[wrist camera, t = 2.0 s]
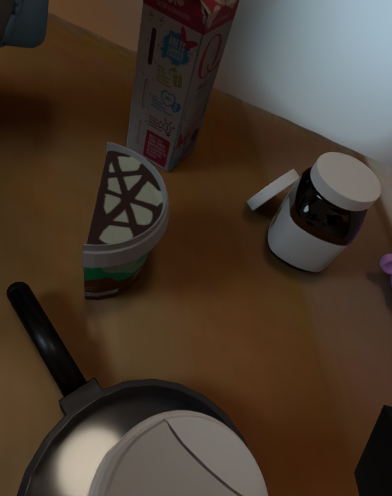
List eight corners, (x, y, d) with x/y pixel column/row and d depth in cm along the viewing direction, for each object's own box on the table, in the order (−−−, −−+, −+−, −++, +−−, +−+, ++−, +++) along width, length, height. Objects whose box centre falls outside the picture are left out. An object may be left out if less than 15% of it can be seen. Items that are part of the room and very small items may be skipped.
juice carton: (193, 148, 50) (252, -43, 32) (168, 172, 45) (220, -32, 28) (154, 125, 50) (191, -74, 33) (126, 146, 46) (151, -68, 29)
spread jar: (317, 290, 40) (385, 226, 31) (226, 248, 41) (268, 173, 31) (328, 220, 48) (385, 152, 39) (251, 185, 48) (291, 110, 39)
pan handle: (-2, 297, 30) (-6, 286, 28) (31, 282, 31) (29, 270, 30) (67, 421, 26) (66, 415, 24) (101, 397, 28) (103, 390, 26)
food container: (150, 321, 33) (170, 263, 25) (81, 314, 32) (81, 251, 24) (158, 220, 40) (176, 151, 33) (102, 211, 39) (107, 137, 31)
